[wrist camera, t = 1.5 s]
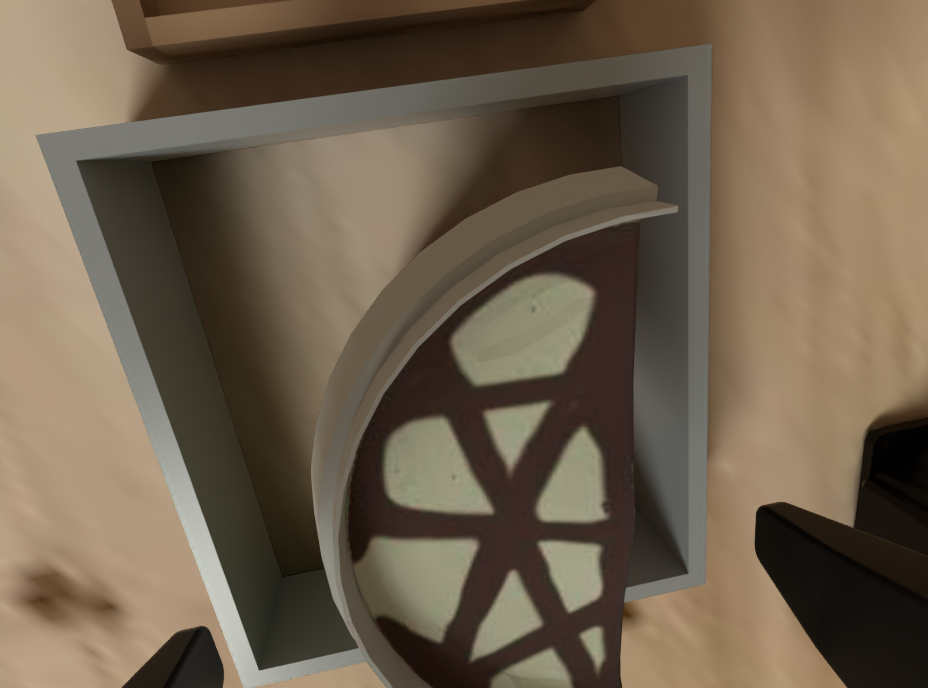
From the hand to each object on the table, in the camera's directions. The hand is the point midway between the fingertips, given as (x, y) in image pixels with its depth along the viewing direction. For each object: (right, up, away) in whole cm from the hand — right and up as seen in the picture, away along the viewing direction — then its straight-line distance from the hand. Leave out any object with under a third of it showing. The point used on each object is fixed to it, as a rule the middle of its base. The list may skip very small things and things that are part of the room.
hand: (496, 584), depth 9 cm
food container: (-2, +3, +10) cm, 11 cm away
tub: (-2, +3, +10) cm, 11 cm away
